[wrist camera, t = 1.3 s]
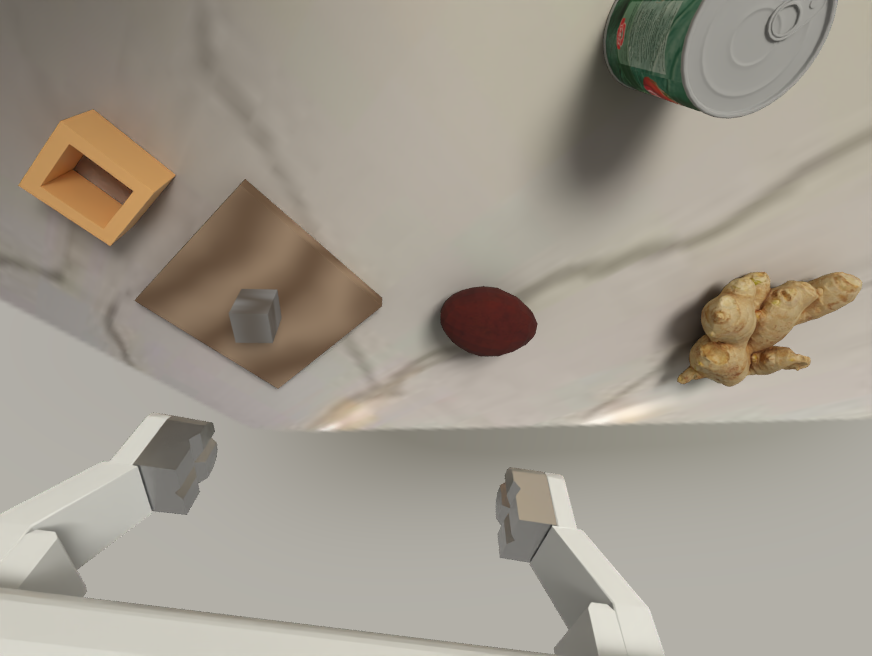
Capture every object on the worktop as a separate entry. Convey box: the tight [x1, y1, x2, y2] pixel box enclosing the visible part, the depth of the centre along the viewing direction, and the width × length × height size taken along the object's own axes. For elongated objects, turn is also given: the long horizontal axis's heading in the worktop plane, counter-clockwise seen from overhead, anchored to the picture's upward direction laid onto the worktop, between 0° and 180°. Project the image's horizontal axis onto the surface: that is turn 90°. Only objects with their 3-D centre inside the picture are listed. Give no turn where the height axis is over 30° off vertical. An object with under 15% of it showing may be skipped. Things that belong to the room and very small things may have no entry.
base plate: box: [135, 179, 382, 388], centre depth 40 cm, size 16×16×6 cm
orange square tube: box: [18, 109, 176, 246], centre depth 33 cm, size 6×6×4 cm
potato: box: [441, 286, 537, 356], centre depth 43 cm, size 7×10×6 cm
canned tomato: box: [603, 0, 838, 118], centre depth 27 cm, size 8×8×11 cm
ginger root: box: [677, 272, 862, 387], centre depth 47 cm, size 16×16×8 cm
